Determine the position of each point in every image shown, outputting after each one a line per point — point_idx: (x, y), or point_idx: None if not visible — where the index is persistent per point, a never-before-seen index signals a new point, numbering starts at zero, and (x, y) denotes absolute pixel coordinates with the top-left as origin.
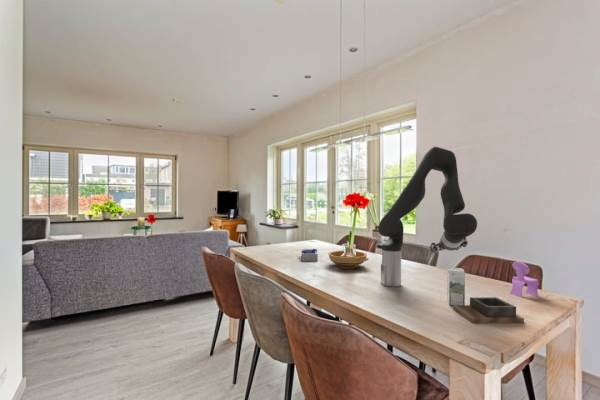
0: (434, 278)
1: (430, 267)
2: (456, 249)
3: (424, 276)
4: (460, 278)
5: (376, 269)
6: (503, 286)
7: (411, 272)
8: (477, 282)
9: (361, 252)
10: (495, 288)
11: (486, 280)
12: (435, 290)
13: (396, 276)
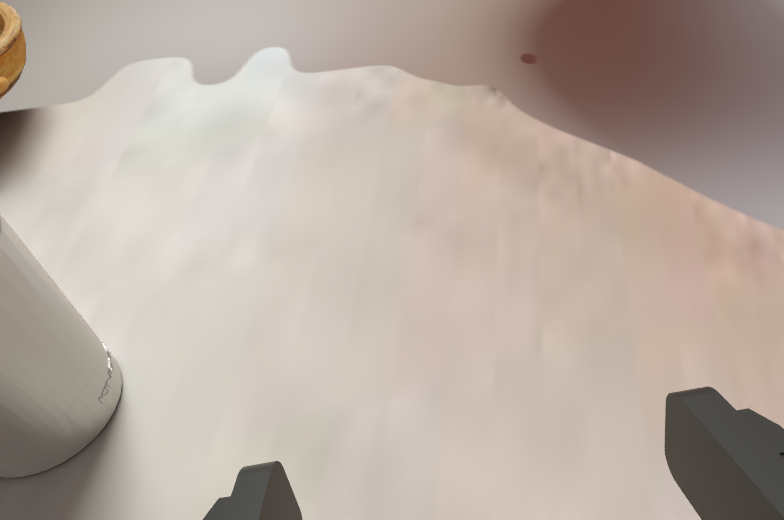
0: (385, 216)
1: (391, 70)
2: (700, 509)
3: (335, 195)
4: None
5: (90, 134)
6: (744, 270)
7: (278, 147)
8: (609, 234)
9: (2, 11)
10: (715, 317)
11: (647, 193)
12: (349, 477)
13: (9, 434)
